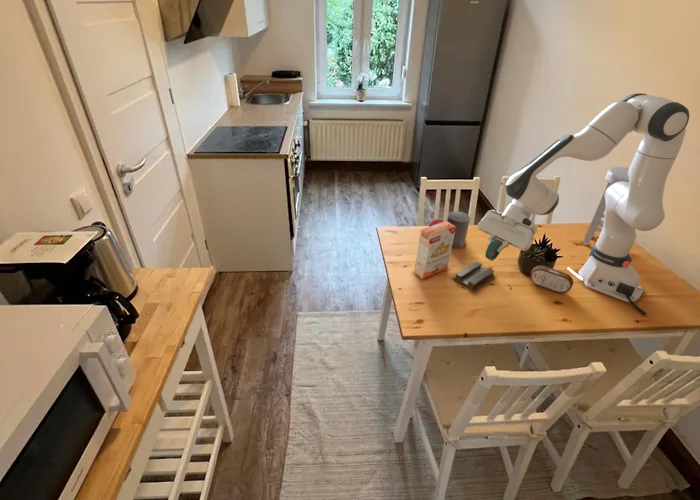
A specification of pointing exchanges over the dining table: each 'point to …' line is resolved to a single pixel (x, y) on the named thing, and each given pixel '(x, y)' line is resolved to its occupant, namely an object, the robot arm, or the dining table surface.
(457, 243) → the pillar candle
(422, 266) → the cracker box
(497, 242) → the disc
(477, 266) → the stand
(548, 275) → the tin
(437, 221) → the lollipop
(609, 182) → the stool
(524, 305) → the dining table surface
